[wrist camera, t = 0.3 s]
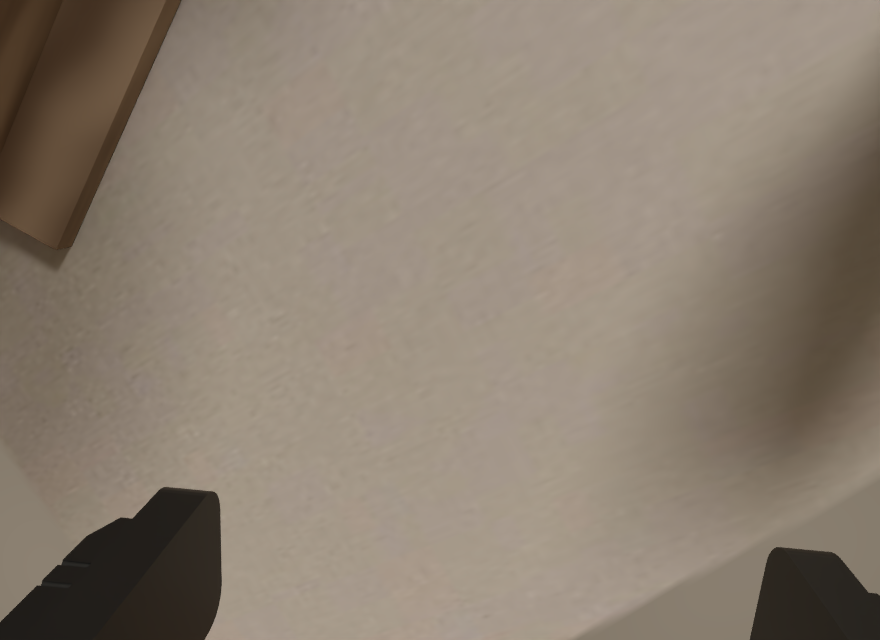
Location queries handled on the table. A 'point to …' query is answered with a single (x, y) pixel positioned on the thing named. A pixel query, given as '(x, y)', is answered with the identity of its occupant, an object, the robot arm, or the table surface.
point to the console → (68, 102)
